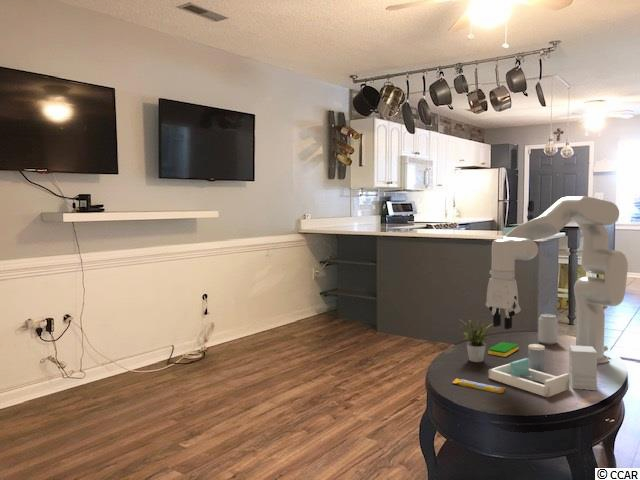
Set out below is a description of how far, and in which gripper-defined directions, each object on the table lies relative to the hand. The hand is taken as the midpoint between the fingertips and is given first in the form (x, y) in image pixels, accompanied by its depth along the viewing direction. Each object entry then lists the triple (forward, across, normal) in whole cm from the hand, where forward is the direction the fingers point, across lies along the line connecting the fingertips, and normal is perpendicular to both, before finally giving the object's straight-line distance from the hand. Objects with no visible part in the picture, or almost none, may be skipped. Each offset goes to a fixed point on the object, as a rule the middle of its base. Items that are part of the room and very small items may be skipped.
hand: (502, 326), depth 179 cm
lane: (+17, +10, 0) cm, 20 cm away
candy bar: (+18, +3, -16) cm, 24 cm away
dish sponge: (+18, -18, +25) cm, 36 cm away
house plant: (+17, -18, +6) cm, 26 cm away
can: (+17, -15, +51) cm, 56 cm away
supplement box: (+17, +22, +12) cm, 31 cm away
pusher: (+17, +9, 0) cm, 19 cm away
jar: (+17, +4, +14) cm, 23 cm away
